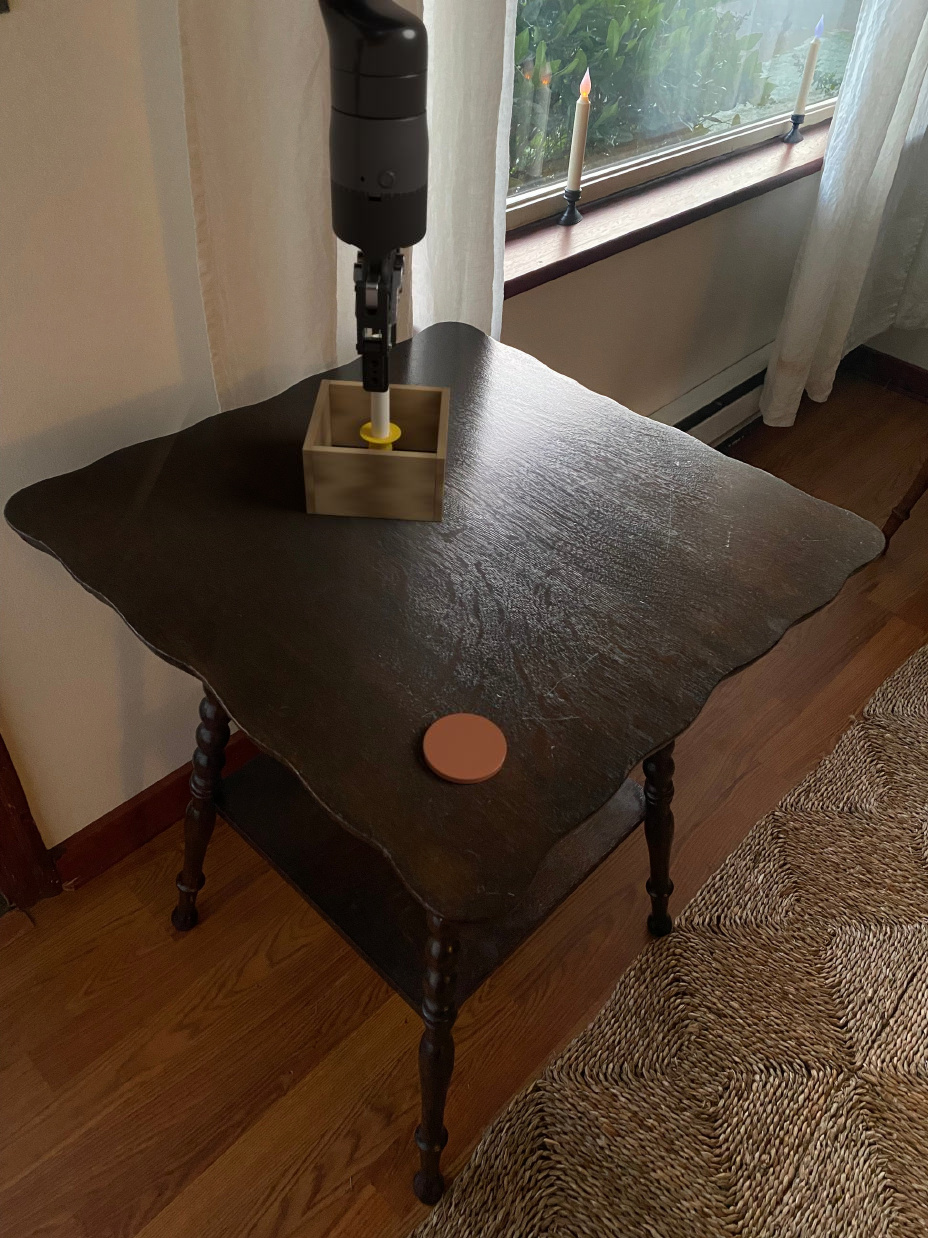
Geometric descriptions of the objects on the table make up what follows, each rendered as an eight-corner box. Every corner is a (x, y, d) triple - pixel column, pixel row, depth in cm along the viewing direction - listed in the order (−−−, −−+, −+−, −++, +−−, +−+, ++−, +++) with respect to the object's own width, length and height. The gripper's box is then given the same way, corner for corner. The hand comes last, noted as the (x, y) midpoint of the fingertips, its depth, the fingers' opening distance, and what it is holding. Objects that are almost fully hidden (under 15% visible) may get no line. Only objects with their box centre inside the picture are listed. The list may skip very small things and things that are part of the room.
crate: (306, 513, 83) (302, 449, 79) (325, 440, 93) (321, 378, 88) (441, 522, 84) (445, 458, 79) (446, 448, 93) (450, 387, 88)
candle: (352, 465, 90) (347, 316, 79) (403, 463, 90) (406, 315, 80) (356, 496, 86) (351, 344, 75) (410, 493, 87) (413, 342, 76)
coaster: (420, 782, 62) (420, 776, 62) (425, 715, 67) (425, 710, 66) (506, 786, 62) (507, 781, 62) (505, 720, 67) (506, 715, 66)
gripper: (341, 140, 74) (347, 328, 85) (317, 200, 63) (327, 405, 75) (432, 146, 74) (426, 333, 85) (422, 208, 64) (417, 411, 75)
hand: (380, 367), depth 80 cm, fingers open, 7 cm apart
